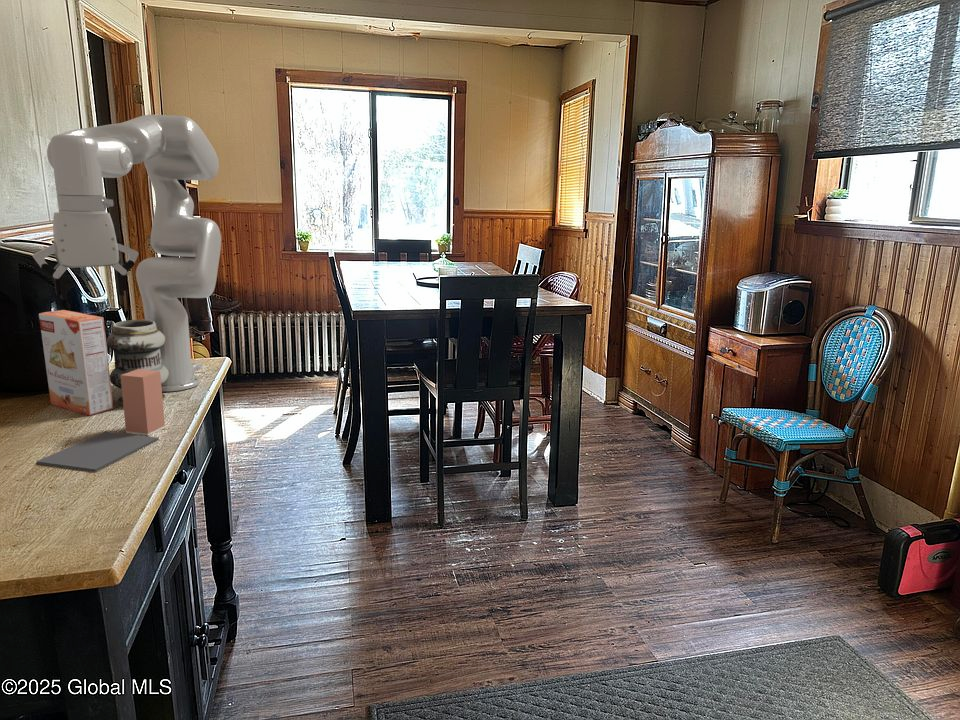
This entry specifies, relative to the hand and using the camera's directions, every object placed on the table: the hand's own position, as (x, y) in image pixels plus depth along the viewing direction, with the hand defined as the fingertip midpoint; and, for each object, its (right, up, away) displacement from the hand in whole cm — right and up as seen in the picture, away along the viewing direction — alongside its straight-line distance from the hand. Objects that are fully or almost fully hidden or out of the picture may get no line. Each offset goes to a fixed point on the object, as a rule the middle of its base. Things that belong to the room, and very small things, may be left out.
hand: (92, 296), depth 126 cm
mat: (+4, -29, -5) cm, 30 cm away
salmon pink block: (+7, -26, +7) cm, 28 cm away
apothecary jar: (-4, -21, +26) cm, 34 cm away
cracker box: (-14, -23, +19) cm, 33 cm away
